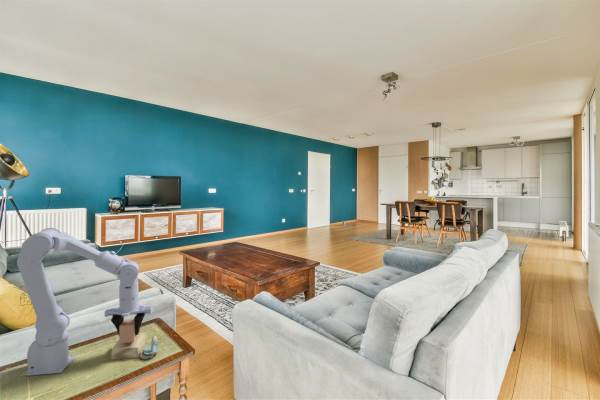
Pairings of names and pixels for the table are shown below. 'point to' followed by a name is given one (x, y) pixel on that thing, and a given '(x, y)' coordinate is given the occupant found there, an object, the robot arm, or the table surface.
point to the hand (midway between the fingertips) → (129, 334)
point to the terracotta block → (127, 331)
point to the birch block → (128, 348)
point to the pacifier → (150, 349)
